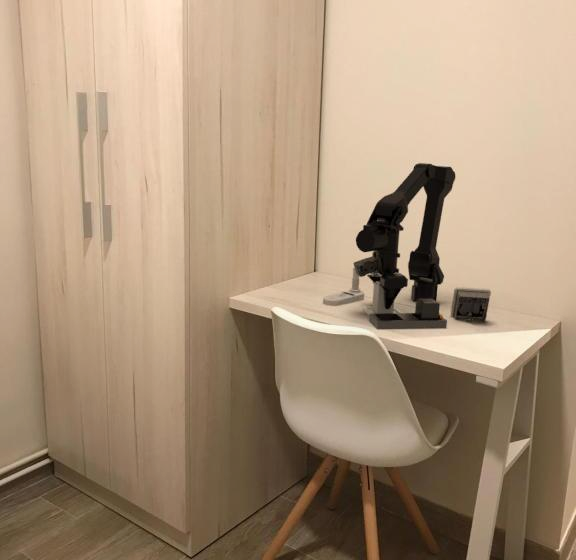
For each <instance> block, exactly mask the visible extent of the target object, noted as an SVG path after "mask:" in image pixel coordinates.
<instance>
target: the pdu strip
mask: <svg viewBox="0 0 576 560" xmlns="http://www.w3.org/2000/svg"><path fill="white" fill-rule="evenodd" d="M438 302H439V301H437V300H436V301H435V300H433V299H416V302H415V308H414V309H415V310H414V313H413V312H411V313H410V312H405V313H404V312H402V313H370V314H369V315H368V317H369V318H368V321H369V323H370V324H371V325H372V326H374V328H375V329H376V330H412V329H413V330H417V329H418V330H419V329H420V330H422V329H423V330H425V329H426V330H428V329H429V330H430V329H433V330H434V329H435V330H436V329H447V327H448V326H447V325H448V319H446V318H444V315H443V314H442V313H440V306H441V303H440V302H439V303H438Z"/></svg>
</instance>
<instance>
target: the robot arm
mask: <svg viewBox="0 0 576 560" xmlns="http://www.w3.org/2000/svg"><path fill="white" fill-rule="evenodd" d="M455 181H456V172H455V171H454V169H453V168H452V167H451V166H447V165H446V166H444V165H434V164H432V163H425V162H424V163H423V162H419V163H416V164H414V166H413V170H412V171H411V172H410V173H408V175H407V176H406V178H405V179H404V180H403V181H402V182H401V184H400V185H398V187H397V188H396V189H395V191H393V192H392V193H389V194H386V195H384V196H383V197H382V198H380V199H379V200H378V201H377V202H376V204H375V206H374V208H373V210H372V212H371V214H370V216H369V218H368V220H367V223H366V224H364V225H363V226H362V227H363V229H362V230H360V231H359V232H358V233H357V235H356V237H355V244H356V246H357V248H358V250H359V251H361V252H363V253H369V252H372V256H370V257H365V258H362V259H360V260H357V261H355V262H353V268H355V271H356V274H357V275H359V278H362V277H365V276H367V277H368V278H369V279H370V280H371V282H372V284H373V285H374V282H376V281H380V282H381V284H379V285H380V286H381V288H382V289H383V290H384V303H385V309H390V307H391V305H392V304H393V302H394V303H395V300H396V298H397V297H398V295H399V293H401V290H403V289H404V288H407V287H408V285H409V284H408V283H409V281H413V285H411V291H410V292H411V293H410V294H411V295H410V299H411V300H413V301H414V302H415V303H416V299H433V300H435V301H437V298H438V290H439V289H438V288H439V287H438V286H439V285H442V284H443V282H444V280H445V279H444V278H445V274H444V273H443V270H442V269H441V267H440V261H441V259H440V256H439V253H438V251H437V243H438V236H439V232H440V225H441V219H442V215H443V210H444V209H443V208H444V202H445V199H446V197H447V196H448V195H449V194H450V192H451V191H452V190H453V186H454V183H455ZM421 189H423V190H424V192H425V195H426V199H425V206H424V211H423V218H422V224H421V230H420V236H419V242H418V245H417V247H416V248H415V249H414V250H411V251H410V253H409V259H408V263H407V268H408V269H407V270H408V276H409V277H408V278H409V279H408V278H407V277H406V276H405V275H404V274H403V273H400V268H398V258H401V253H399V242H400V232H401V231H402V232H403V231H404V229H405V228H404V226H403V225H401V223H402V222H403V221H404V220H405V218H406V216H407V215H408V212H409V205H410V203H411V202H412V201H413V199H414V198H415V197H416V196H417V195H418V193H419V192H420V191H421ZM437 302H438V303H439V304H440V302H439V301H437Z"/></svg>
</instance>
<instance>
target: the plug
mask: <svg viewBox="0 0 576 560" xmlns="http://www.w3.org/2000/svg"><path fill="white" fill-rule="evenodd" d="M379 284H381V282H380V281H376V282H374V284H373V293H372V303H371V304H372V305H371V306H372V311H373V312H374V313H393V311H394V307H395V301H394V302H393V304H392V305H391V307H390V309H385V303H384V290H383V289H382V288H381V286H380V285H379Z"/></svg>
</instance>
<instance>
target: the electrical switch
mask: <svg viewBox="0 0 576 560" xmlns="http://www.w3.org/2000/svg"><path fill="white" fill-rule="evenodd" d="M491 295H492V292H491V289H489V288H481V287H465V286H464V287H463V286H462V287H461V286H460V287H459V286H456V287H455V288H454V289H453V297H452V304H451V309H450V317H453V318H454V320H455V321H456V320H457V319H462V320H463V321H464V322H466V323H474V324H477V323H478V324H485V323H486V319H487V316H488V314H487V313H488V308H489V304H490V303H489V302H490V297H491Z"/></svg>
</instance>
